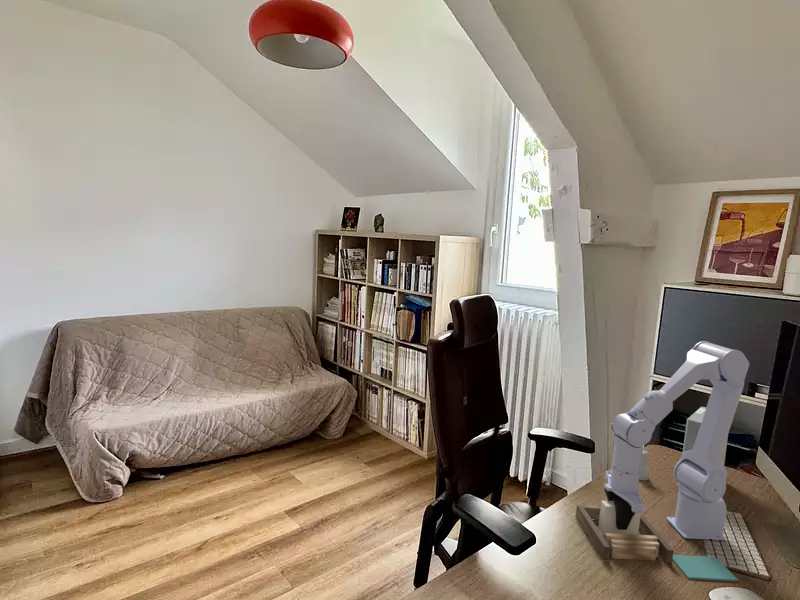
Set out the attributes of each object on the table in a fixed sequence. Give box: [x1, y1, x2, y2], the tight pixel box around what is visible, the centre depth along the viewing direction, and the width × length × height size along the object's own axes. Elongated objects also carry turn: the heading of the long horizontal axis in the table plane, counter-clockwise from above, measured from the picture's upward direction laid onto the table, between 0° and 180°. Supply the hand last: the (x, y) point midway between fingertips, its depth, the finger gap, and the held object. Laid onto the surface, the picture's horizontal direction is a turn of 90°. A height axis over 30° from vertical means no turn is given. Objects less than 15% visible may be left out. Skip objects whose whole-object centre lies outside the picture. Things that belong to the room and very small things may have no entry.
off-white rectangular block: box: [597, 500, 641, 537], centre depth 112 cm, size 8×2×7 cm, turn 90°
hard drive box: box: [682, 406, 729, 467], centre depth 138 cm, size 16×8×20 cm, turn 136°
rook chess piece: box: [639, 448, 650, 482], centre depth 141 cm, size 4×4×8 cm
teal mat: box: [672, 554, 739, 583], centre depth 102 cm, size 10×7×1 cm
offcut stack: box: [603, 533, 659, 562], centre depth 105 cm, size 11×3×4 cm, turn 90°
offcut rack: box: [575, 504, 675, 565], centre depth 111 cm, size 14×16×3 cm
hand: (618, 524), depth 112 cm, fingers closed on off-white rectangular block, 2 cm apart
